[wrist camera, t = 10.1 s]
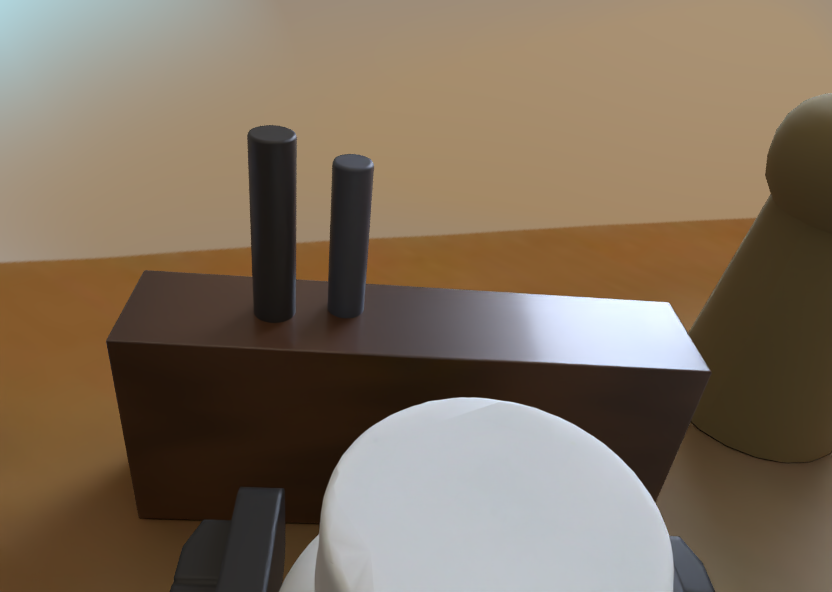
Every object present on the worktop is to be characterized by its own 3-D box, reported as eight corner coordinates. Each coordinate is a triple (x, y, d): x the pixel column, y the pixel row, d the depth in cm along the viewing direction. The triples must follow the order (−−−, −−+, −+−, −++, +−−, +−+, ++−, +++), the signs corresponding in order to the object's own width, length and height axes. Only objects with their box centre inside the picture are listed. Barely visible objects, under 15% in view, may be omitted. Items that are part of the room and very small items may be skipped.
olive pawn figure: (759, 342, 29) (886, 74, 22) (878, 448, 24) (1079, 144, 18) (634, 358, 27) (734, 71, 21) (736, 476, 22) (905, 149, 16)
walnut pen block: (138, 518, 18) (69, 146, 13) (166, 437, 21) (120, 95, 15) (642, 533, 20) (788, 201, 14) (613, 455, 22) (726, 145, 16)
